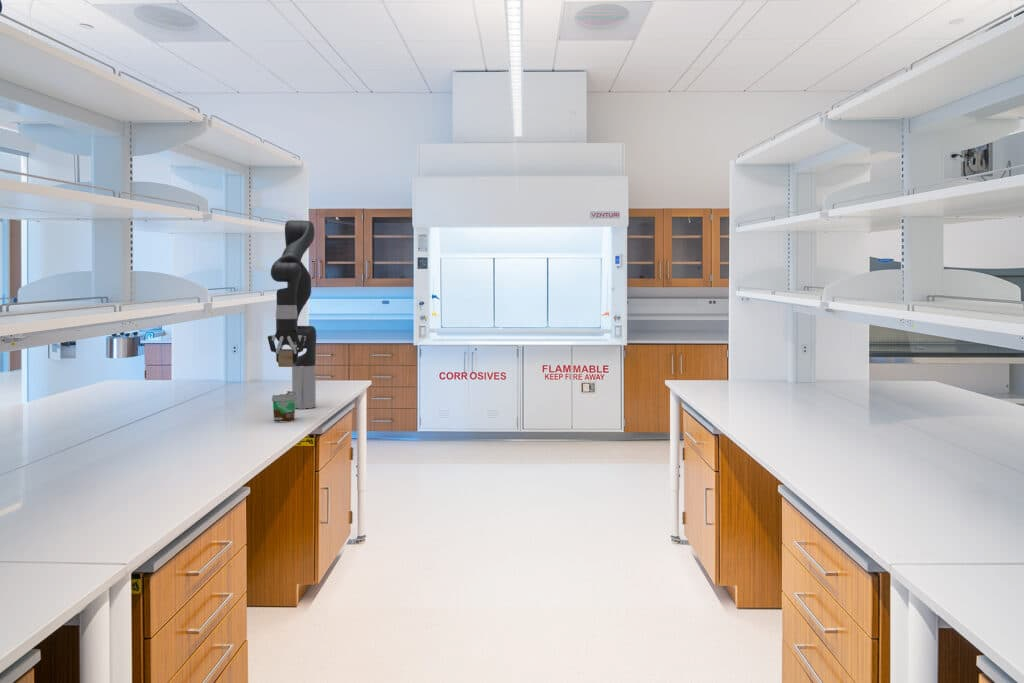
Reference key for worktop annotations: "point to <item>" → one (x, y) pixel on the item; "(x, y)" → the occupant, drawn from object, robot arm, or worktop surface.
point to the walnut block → (285, 358)
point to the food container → (284, 406)
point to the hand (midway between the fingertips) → (287, 363)
